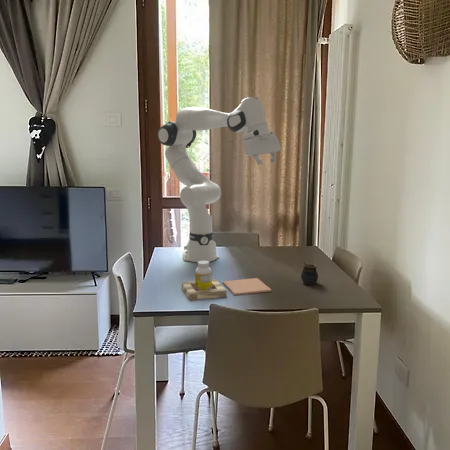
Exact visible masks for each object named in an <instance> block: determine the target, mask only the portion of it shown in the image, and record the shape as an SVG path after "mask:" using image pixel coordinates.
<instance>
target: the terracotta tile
mask: <svg viewBox="0 0 450 450" xmlns="http://www.w3.org/2000/svg"><path fill="white" fill-rule="evenodd" d="M222 284H223V285H224V286H225V287H226V288H227V289H228V290H229V291H230V293H231V294H233V295H234V296H241V295H250V294H258V293H268V292H272V289H271V288H270V287H269V286H268V285H267V284H265V283H264V282H263V281H262V280H261V279H259V278H258V277H254V278H242V279H233V280H223V281H222Z"/></svg>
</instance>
